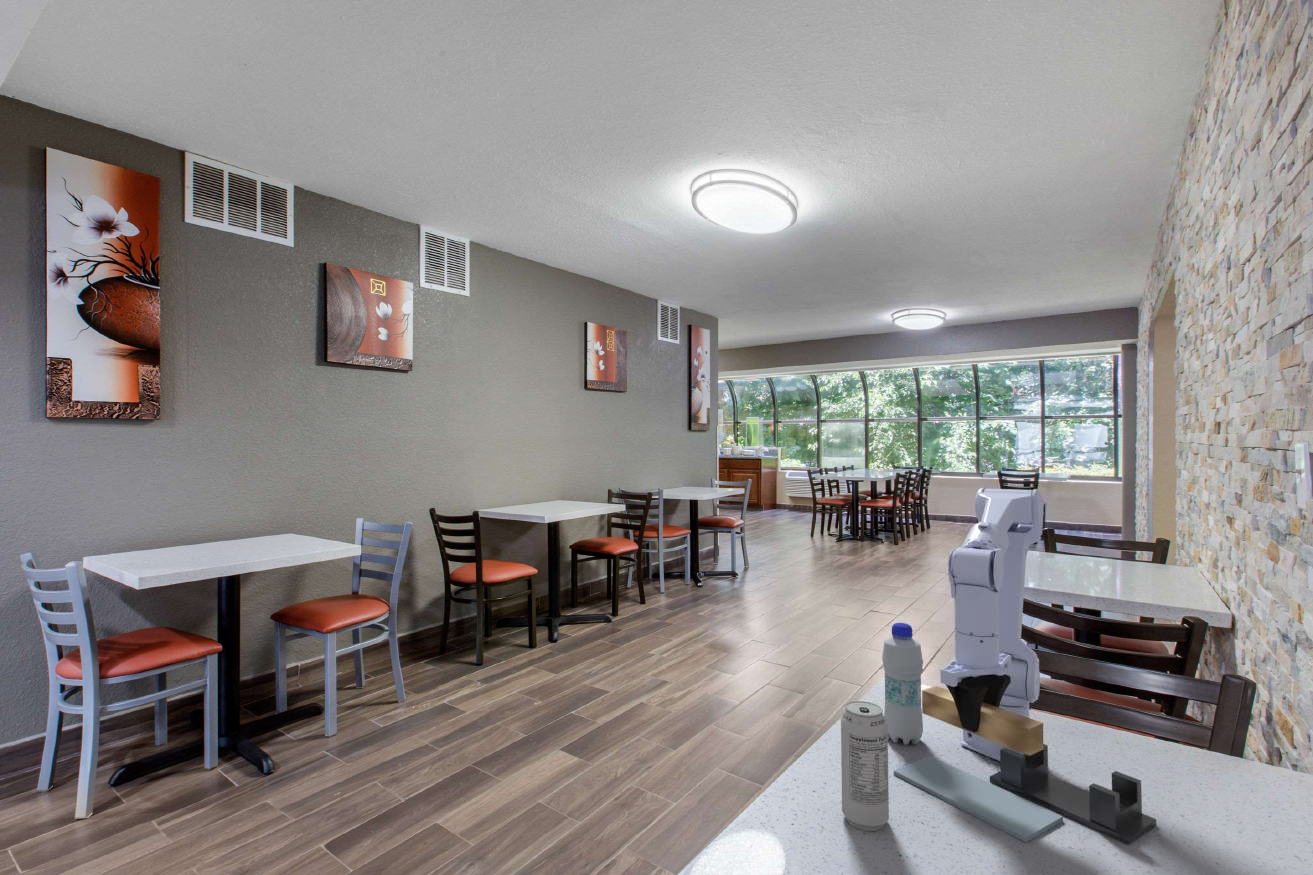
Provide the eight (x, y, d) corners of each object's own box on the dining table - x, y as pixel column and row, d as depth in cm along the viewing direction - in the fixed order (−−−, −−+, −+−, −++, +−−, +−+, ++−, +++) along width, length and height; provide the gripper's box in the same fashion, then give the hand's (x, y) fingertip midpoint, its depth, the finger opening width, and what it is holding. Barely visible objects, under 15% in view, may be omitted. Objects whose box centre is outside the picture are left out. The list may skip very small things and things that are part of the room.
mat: (893, 774, 97) (893, 770, 97) (930, 759, 101) (930, 755, 101) (1026, 842, 80) (1025, 837, 80) (1062, 820, 84) (1062, 816, 84)
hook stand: (989, 781, 95) (989, 745, 95) (1019, 767, 99) (1018, 733, 99) (1128, 844, 79) (1127, 802, 79) (1156, 825, 83) (1155, 784, 83)
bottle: (928, 749, 105) (926, 629, 105) (886, 746, 106) (884, 627, 107) (919, 732, 111) (918, 618, 112) (880, 729, 113) (878, 617, 113)
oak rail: (922, 713, 96) (922, 690, 97) (936, 708, 98) (936, 685, 98) (1029, 755, 83) (1029, 728, 83) (1043, 749, 85) (1043, 722, 85)
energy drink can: (884, 809, 87) (883, 700, 88) (892, 835, 81) (891, 718, 82) (839, 805, 88) (838, 697, 89) (844, 830, 82) (843, 715, 83)
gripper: (973, 646, 84) (975, 749, 83) (1031, 630, 92) (1033, 724, 91) (926, 633, 90) (927, 729, 89) (984, 619, 98) (986, 708, 97)
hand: (978, 726), depth 91 cm, fingers closed on oak rail, 3 cm apart
